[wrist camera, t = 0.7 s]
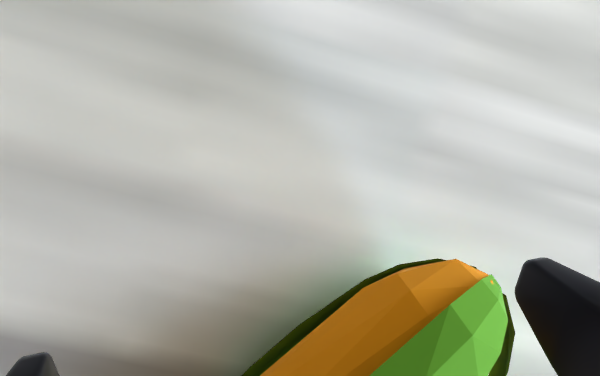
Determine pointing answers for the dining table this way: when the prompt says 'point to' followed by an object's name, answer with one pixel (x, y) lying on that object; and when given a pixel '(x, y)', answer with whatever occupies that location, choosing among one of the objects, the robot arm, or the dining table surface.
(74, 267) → the dining table surface
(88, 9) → the dining table surface
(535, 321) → the robot arm
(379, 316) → the corn
